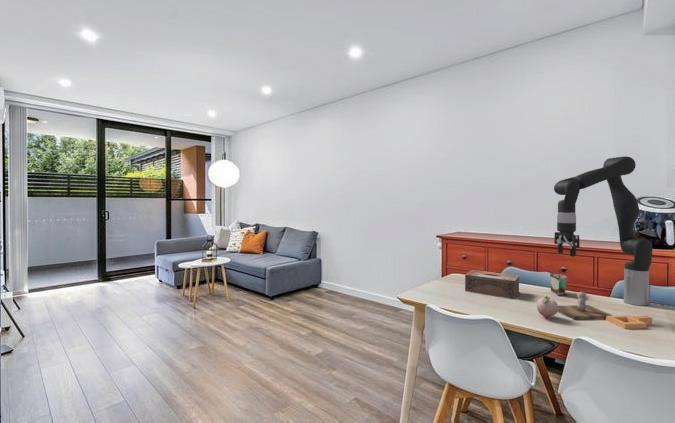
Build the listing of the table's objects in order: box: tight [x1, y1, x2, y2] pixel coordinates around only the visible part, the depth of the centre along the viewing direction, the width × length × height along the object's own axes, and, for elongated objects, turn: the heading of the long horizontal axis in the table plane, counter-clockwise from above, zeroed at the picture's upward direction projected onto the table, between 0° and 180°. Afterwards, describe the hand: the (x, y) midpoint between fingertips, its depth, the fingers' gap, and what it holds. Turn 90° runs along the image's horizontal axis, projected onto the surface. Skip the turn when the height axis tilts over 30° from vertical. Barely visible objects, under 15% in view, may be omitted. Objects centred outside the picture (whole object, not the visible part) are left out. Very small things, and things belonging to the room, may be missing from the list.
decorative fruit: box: [536, 295, 559, 319], centre depth 148 cm, size 9×8×10 cm
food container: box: [549, 273, 569, 297], centre depth 184 cm, size 12×6×10 cm, turn 168°
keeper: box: [557, 291, 614, 321], centre depth 152 cm, size 18×14×10 cm
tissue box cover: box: [464, 269, 520, 300], centre depth 189 cm, size 26×14×10 cm, turn 53°
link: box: [605, 315, 653, 330], centre depth 140 cm, size 15×9×3 cm, turn 91°
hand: (566, 254), depth 159 cm, fingers open, 8 cm apart
